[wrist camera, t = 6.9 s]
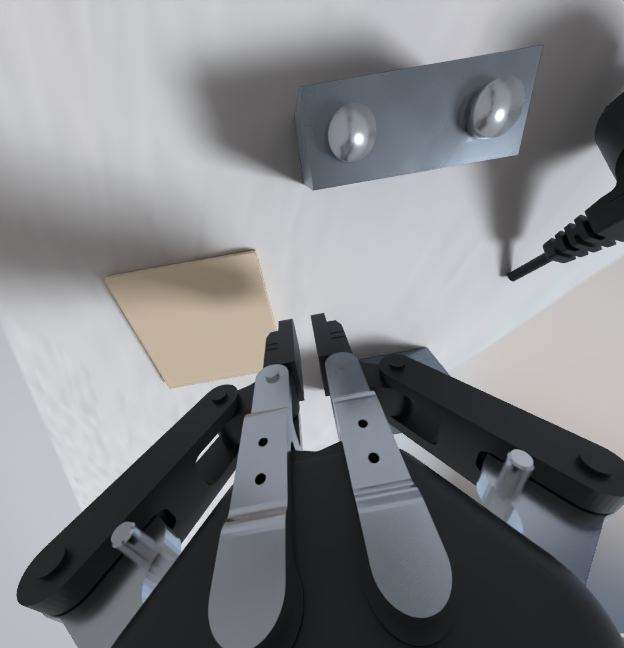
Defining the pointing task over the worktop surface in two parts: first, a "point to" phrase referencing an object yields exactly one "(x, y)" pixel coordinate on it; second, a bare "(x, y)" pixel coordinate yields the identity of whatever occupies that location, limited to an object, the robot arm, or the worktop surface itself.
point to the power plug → (604, 215)
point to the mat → (199, 316)
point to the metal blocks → (414, 124)
